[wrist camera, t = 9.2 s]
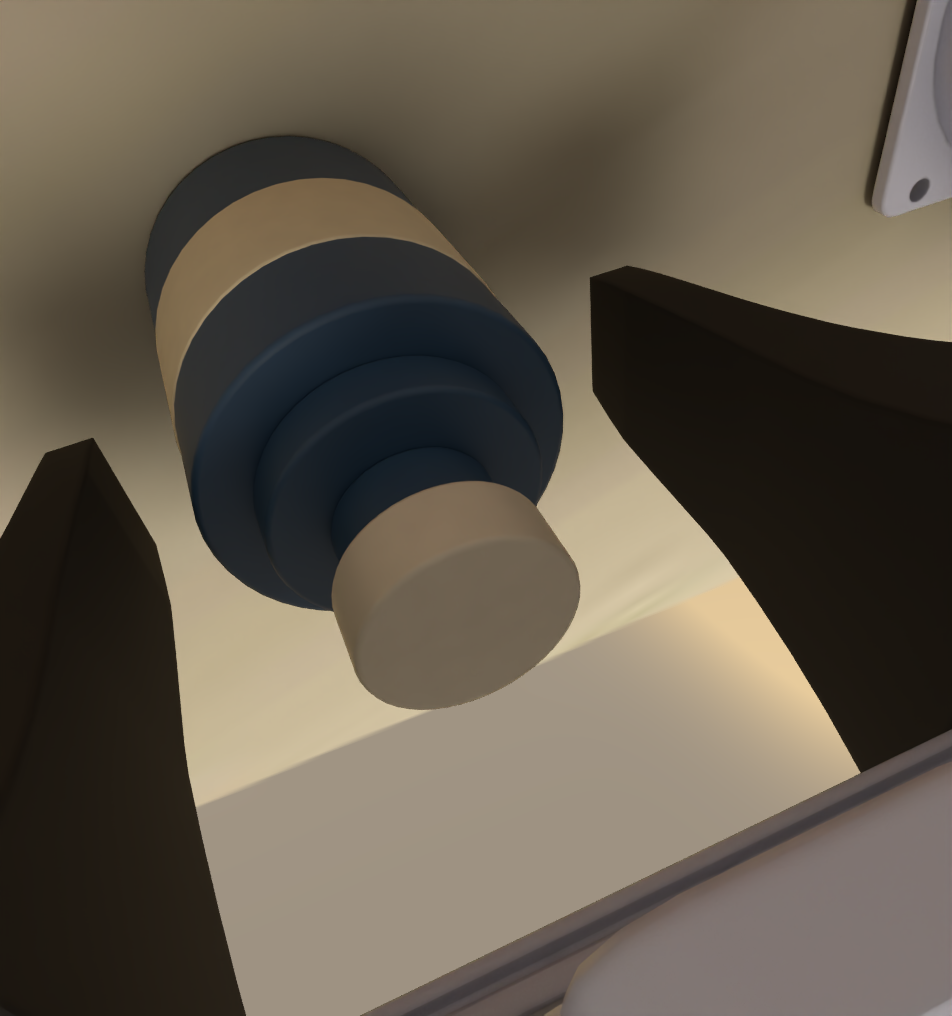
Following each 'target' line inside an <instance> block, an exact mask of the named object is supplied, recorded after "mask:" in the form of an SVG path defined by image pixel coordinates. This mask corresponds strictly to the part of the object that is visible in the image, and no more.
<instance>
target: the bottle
mask: <svg viewBox="0 0 952 1016" xmlns="http://www.w3.org/2000/svg"><path fill="white" fill-rule="evenodd" d="M145 284H146V293H147V297H148V302H149V307H150V311H151V316H152V321H153V325H154V330H155V335H156V347H157V354H158V359H159V363H160V368H161V373H162V377H163V382H164V387H165V392H166V396H167V401H168V406H169V410H170V415H171V420H172V425H173V429H174V434H175V438H176V443H177V445H178V448H179V450H180V453H181V455H182V460H183V464H184V469H185V474H186V478H187V483H188V488H189V492H190V497H191V501H192V506H193V511H194V515H195V520H196V523H197V525H198V527H199V530H200V532H201V535H202V537H203V539H204V541H205V542H206V544H207V546H208V547H209V549H210V550H211V552H212V553H213V555H214V556H215V557H216V558H217V560H218V561H219V562H220V563H221V564H222V565H223V566H224V567H225V568H226V569H227V571H229V572H230V573H231V574H232V575H233V576H235V577H236V578H237V579H239V580H240V581H241V582H242V583H244V584H245V585H246V586H248V587H250V588H252V589H253V590H255V591H257V592H259V593H260V594H262V595H264V596H267V597H269V598H272V599H274V600H277V601H279V602H282V603H286V604H289V605H293V606H297V607H301V608H308V609H315V610H324V611H333V612H334V614H335V617H336V620H337V623H338V625H339V628H340V631H341V634H342V637H343V639H344V642H345V645H346V648H347V651H348V653H349V656H350V659H351V662H352V664H353V667H354V670H355V673H356V675H357V677H358V679H359V681H360V682H361V683H362V685H363V686H364V687H365V688H366V689H367V690H368V691H369V692H370V693H371V694H373V695H374V696H375V697H376V698H378V699H380V700H382V701H383V702H385V703H387V704H390V705H393V706H396V707H401V708H406V709H417V710H429V709H440V708H447V707H451V706H456V705H461V704H464V703H467V702H471V701H474V700H476V699H479V698H482V697H484V696H486V695H489V694H491V693H493V692H495V691H497V690H499V689H501V688H503V687H505V686H507V685H508V684H510V683H512V682H514V681H515V680H517V679H518V678H520V677H521V676H523V675H524V674H525V673H527V672H528V671H529V670H531V669H532V668H533V667H535V666H536V665H537V664H538V663H539V662H540V661H541V660H543V659H544V658H545V657H546V656H547V655H548V654H549V653H550V651H551V650H552V649H553V648H554V647H555V646H556V645H557V643H558V642H559V641H560V640H561V638H562V637H563V636H564V634H565V632H566V631H567V629H568V628H569V626H570V624H571V622H572V620H573V618H574V616H575V613H576V610H577V607H578V603H579V598H580V581H579V574H578V571H577V568H576V565H575V563H574V561H573V560H572V558H571V557H570V555H569V554H568V552H567V551H566V549H565V548H564V547H563V545H562V544H561V542H560V541H559V539H558V538H557V536H556V535H555V533H554V532H553V531H552V529H551V528H550V526H549V525H548V523H547V522H546V520H545V519H544V518H543V516H542V515H541V513H540V512H539V510H538V509H537V507H536V506H537V503H538V502H539V500H540V498H541V496H542V495H543V493H544V491H545V489H546V488H547V485H548V483H549V481H550V478H551V476H552V474H553V471H554V469H555V465H556V462H557V459H558V455H559V452H560V446H561V440H562V434H563V409H562V402H561V394H560V390H559V386H558V383H557V380H556V376H555V373H554V371H553V369H552V367H551V365H550V363H549V361H548V359H547V357H546V356H545V354H544V353H543V352H542V350H541V349H540V347H539V346H538V345H537V343H536V342H535V341H534V339H533V338H532V337H531V336H530V335H529V334H528V333H527V332H526V331H525V329H524V328H523V327H522V326H521V325H520V324H519V323H518V322H517V320H516V319H515V318H514V317H513V316H512V315H511V314H510V313H509V312H508V310H507V309H506V308H505V307H504V306H503V305H502V304H501V303H500V301H499V300H498V299H497V298H496V296H495V295H494V294H493V292H492V291H491V289H490V288H489V287H488V285H487V284H486V283H485V281H484V280H483V279H482V278H481V277H480V276H479V275H478V274H477V273H476V271H475V270H474V269H473V268H472V267H471V266H470V265H469V264H468V263H467V261H466V260H465V259H464V258H463V257H462V256H461V255H460V254H459V253H458V251H457V250H456V249H455V248H454V247H453V246H452V245H451V244H450V243H449V241H448V240H447V239H446V238H445V237H444V236H443V235H442V234H441V233H440V231H439V230H438V229H437V228H436V227H435V226H434V225H433V224H432V223H431V222H430V221H429V220H428V219H427V218H426V217H425V216H424V215H423V214H422V213H421V212H419V211H418V210H417V209H416V208H415V206H414V205H413V204H412V203H411V202H410V201H409V200H408V199H407V198H406V196H405V195H404V194H403V193H402V192H401V191H400V190H399V189H398V187H397V186H396V185H395V184H394V183H393V182H392V181H391V180H390V179H389V178H388V177H387V176H386V175H385V174H384V173H383V172H382V171H381V170H380V169H379V168H377V167H376V166H375V165H373V164H372V163H370V162H369V161H368V160H366V159H365V158H363V157H361V156H360V155H358V154H356V153H354V152H352V151H351V150H349V149H346V148H344V147H341V146H338V145H336V144H333V143H330V142H326V141H322V140H317V139H313V138H305V137H294V136H286V137H269V138H264V139H259V140H254V141H249V142H246V143H243V144H240V145H237V146H235V147H232V148H229V149H227V150H225V151H223V152H221V153H219V154H217V155H215V156H213V157H212V158H210V159H209V160H207V161H206V162H204V163H203V164H202V165H200V166H199V167H197V168H196V169H195V170H194V171H193V172H191V173H190V174H189V175H188V176H187V177H186V178H185V179H184V180H183V181H182V182H181V183H180V184H179V185H178V186H177V188H176V189H175V190H174V192H173V193H172V194H171V195H170V197H169V198H168V199H167V201H166V203H165V204H164V206H163V208H162V209H161V211H160V213H159V215H158V217H157V219H156V222H155V224H154V227H153V229H152V232H151V234H150V238H149V243H148V247H147V251H146V261H145Z"/></svg>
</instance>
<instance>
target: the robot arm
mask: <svg viewBox="0 0 952 1016" xmlns="http://www.w3.org/2000/svg"><path fill="white" fill-rule="evenodd" d="M913 186H914V187H913ZM951 197H952V0H917V3H916V7H915V12H914V16H913V20H912V25H911V29H910V33H909V38H908V42H907V47H906V51H905V55H904V60H903V64H902V68H901V73H900V77H899V82H898V86H897V90H896V95H895V99H894V103H893V108H892V112H891V117H890V121H889V125H888V130H887V134H886V139H885V143H884V147H883V152H882V156H881V160H880V165H879V169H878V174H877V178H876V182H875V187H874V191H873V195H872V206H873V209H874V210H875V211H877V212H879V213H881V214H883V215H885V216H887V217H895V216H898V215H901V214H904V213H907V212H910V211H913V210H916V209H919V208H922V207H925V206H928V205H931V204H934V203H937V202H940V201H943V200H945V199H948V198H951ZM590 301H591V344H592V386H593V392H594V394H595V396H596V397H597V399H598V400H599V402H600V404H601V405H602V407H603V409H604V410H605V412H606V413H607V415H608V417H609V418H610V420H611V421H612V423H613V424H614V426H615V427H616V429H617V430H618V432H619V433H620V435H621V436H622V438H623V439H624V440H625V441H626V443H627V444H628V445H629V446H630V447H631V449H632V450H633V451H634V452H635V453H636V454H637V456H638V457H639V458H640V459H641V460H642V461H643V462H644V464H645V465H646V466H647V467H648V468H649V469H650V470H651V472H652V473H653V474H654V475H655V476H656V477H657V478H658V479H659V481H660V482H661V483H662V484H663V485H664V486H665V487H666V488H667V489H668V491H669V492H670V493H671V494H672V495H673V496H674V497H675V498H676V500H677V501H678V502H679V503H680V504H681V505H682V506H683V507H684V509H685V510H686V511H687V512H688V513H689V514H690V515H691V516H692V518H693V519H694V520H695V521H696V522H697V523H698V524H699V525H700V526H701V528H702V529H703V530H704V531H705V532H706V533H707V534H708V536H709V537H710V538H711V539H712V540H713V542H714V543H715V544H716V545H717V547H718V548H719V549H720V550H721V552H722V553H723V554H724V555H725V557H726V558H727V559H728V561H729V562H730V564H731V565H732V567H733V568H734V569H735V571H736V572H737V574H738V575H739V577H740V578H741V579H742V581H743V582H744V584H745V585H746V586H747V588H748V589H749V591H750V592H751V593H752V595H753V597H754V598H755V599H756V601H757V602H758V604H759V605H760V607H761V608H762V610H763V611H764V613H765V614H766V616H767V617H768V619H769V620H770V622H771V624H772V625H773V627H774V628H775V630H776V631H777V633H778V634H779V636H780V637H781V639H782V640H783V642H784V643H785V645H786V646H787V648H788V649H789V651H790V652H791V654H792V656H793V657H794V659H795V661H796V662H797V664H798V666H799V667H800V669H801V671H802V672H803V674H804V675H805V677H806V679H807V680H808V682H809V684H810V685H811V687H812V689H813V690H814V692H815V693H816V695H817V697H818V698H819V700H820V702H821V703H822V705H823V707H824V708H825V710H826V712H827V713H828V715H829V717H830V719H831V721H832V722H833V724H834V726H835V728H836V730H837V731H838V733H839V735H840V736H841V738H842V740H843V742H844V744H845V745H846V747H847V749H848V751H849V753H850V754H851V756H852V758H853V760H854V762H855V763H856V765H857V767H858V769H859V771H860V772H861V773H860V774H858V775H856V776H854V777H852V778H850V779H848V780H846V781H844V782H842V783H840V784H838V785H836V786H833V787H832V788H829V789H827V790H825V791H823V792H821V793H819V794H817V795H815V796H813V797H811V798H809V799H807V800H805V801H803V802H800V803H799V804H796V805H794V806H792V807H790V808H788V809H786V810H784V811H782V812H780V813H778V814H776V815H774V816H772V817H770V818H767V819H765V820H763V821H761V822H760V823H757V824H755V825H753V826H751V827H749V828H747V829H745V830H743V831H741V832H739V833H736V834H734V835H732V836H730V837H728V838H726V839H724V840H722V841H720V842H718V843H716V844H714V845H712V846H710V847H708V848H705V849H703V850H701V851H699V852H697V853H695V854H693V855H691V856H689V857H687V858H685V859H683V860H681V861H679V862H676V863H674V864H672V865H670V866H668V867H666V868H664V869H662V870H660V871H658V872H656V873H654V874H652V875H650V876H648V877H646V878H643V879H641V880H639V881H637V882H635V883H633V884H631V885H629V886H627V887H625V888H623V889H621V890H619V891H617V892H615V893H613V894H610V895H608V896H606V897H604V898H602V899H600V900H598V901H596V902H594V903H592V904H590V905H588V906H586V907H584V908H581V909H580V910H577V911H575V912H573V913H571V914H569V915H567V916H565V917H563V918H561V919H559V920H557V921H555V922H553V923H550V924H548V925H546V926H544V927H542V928H540V929H538V930H536V931H534V932H532V933H530V934H528V935H526V936H524V937H522V938H520V939H517V940H515V941H513V942H511V943H509V944H507V945H505V946H503V947H501V948H499V949H497V950H495V951H493V952H491V953H489V954H486V955H484V956H482V957H480V958H478V959H476V960H474V961H472V962H470V963H468V964H466V965H464V966H462V967H460V968H458V969H456V970H453V971H451V972H449V973H447V974H445V975H443V976H441V977H439V978H437V979H435V980H433V981H431V982H429V983H427V984H424V985H423V986H420V987H418V988H416V989H414V990H412V991H410V992H408V993H406V994H404V995H402V996H400V997H398V998H396V999H393V1000H392V1001H389V1002H387V1003H385V1004H383V1005H381V1006H379V1007H377V1008H375V1009H373V1010H371V1011H369V1012H367V1013H365V1014H362V1015H360V1016H952V342H944V341H934V340H926V339H919V338H911V337H904V336H898V335H892V334H887V333H881V332H875V331H869V330H864V329H858V328H852V327H848V326H843V325H838V324H834V323H829V322H825V321H821V320H817V319H813V318H809V317H805V316H801V315H797V314H793V313H789V312H785V311H781V310H778V309H774V308H771V307H767V306H764V305H760V304H757V303H753V302H750V301H747V300H743V299H740V298H737V297H734V296H730V295H727V294H724V293H721V292H717V291H714V290H711V289H708V288H705V287H702V286H699V285H695V284H692V283H689V282H686V281H683V280H680V279H676V278H673V277H670V276H666V275H663V274H660V273H656V272H653V271H649V270H645V269H641V268H636V267H632V266H624V267H621V268H618V269H615V270H612V271H609V272H606V273H603V274H599V275H596V276H593V277H590ZM0 1016H246V1014H245V1010H244V1006H243V1003H242V999H241V995H240V992H239V988H238V984H237V981H236V977H235V973H234V969H233V965H232V961H231V957H230V953H229V949H228V945H227V941H226V937H225V933H224V929H223V925H222V921H221V917H220V913H219V909H218V905H217V901H216V896H215V892H214V888H213V883H212V880H211V875H210V871H209V866H208V862H207V858H206V854H205V849H204V844H203V840H202V835H201V831H200V826H199V821H198V817H197V812H196V807H195V803H194V798H193V793H192V788H191V784H190V779H189V774H188V767H187V760H186V753H185V746H184V736H183V725H182V715H181V704H180V693H179V682H178V671H177V660H176V650H175V640H174V630H173V620H172V611H171V604H170V599H169V595H168V591H167V586H166V582H165V578H164V574H163V570H162V566H161V562H160V558H159V554H158V550H157V546H156V544H155V542H154V540H153V539H152V537H151V535H150V533H149V532H148V530H147V528H146V527H145V525H144V523H143V522H142V520H141V518H140V516H139V515H138V513H137V511H136V510H135V508H134V506H133V505H132V503H131V501H130V500H129V498H128V496H127V494H126V493H125V491H124V489H123V488H122V486H121V484H120V483H119V481H118V479H117V477H116V476H115V474H114V472H113V471H112V469H111V467H110V466H109V464H108V462H107V461H106V459H105V457H104V455H103V454H102V452H101V450H100V449H99V447H98V445H97V444H96V442H95V440H94V438H91V439H87V440H84V441H81V442H78V443H75V444H72V445H69V446H66V447H63V448H60V449H56V450H53V451H50V452H47V453H45V455H44V456H43V458H42V460H41V462H40V463H39V465H38V467H37V469H36V471H35V473H34V475H33V477H32V479H31V481H30V483H29V485H28V487H27V489H26V491H25V492H24V494H23V496H22V498H21V500H20V502H19V504H18V506H17V508H16V510H15V512H14V514H13V516H12V518H11V520H10V522H9V523H8V525H7V527H6V529H5V531H4V533H3V535H2V536H1V538H0Z"/></svg>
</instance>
